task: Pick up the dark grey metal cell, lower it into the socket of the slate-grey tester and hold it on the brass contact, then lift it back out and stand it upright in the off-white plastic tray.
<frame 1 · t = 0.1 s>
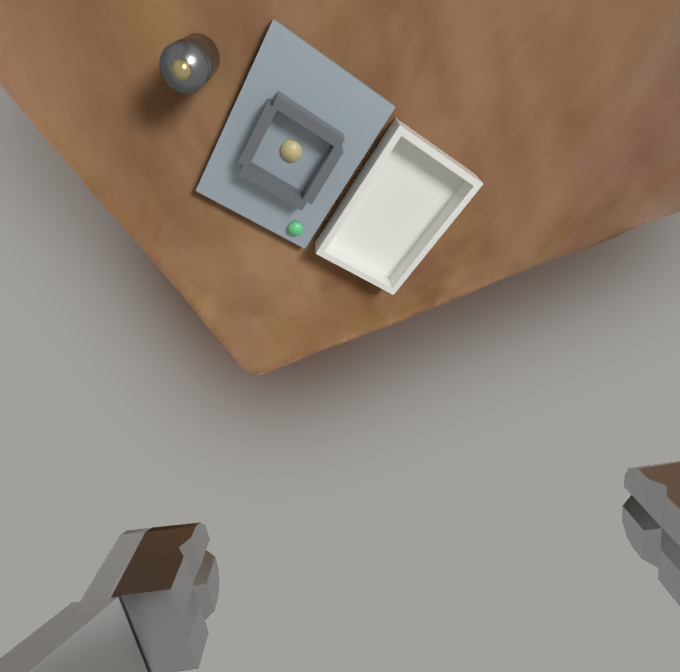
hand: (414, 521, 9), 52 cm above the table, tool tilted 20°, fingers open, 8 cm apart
cell: (199, 56, 48), on the table
tester cradle: (291, 146, 54), on the table
tray: (392, 208, 60), on the table
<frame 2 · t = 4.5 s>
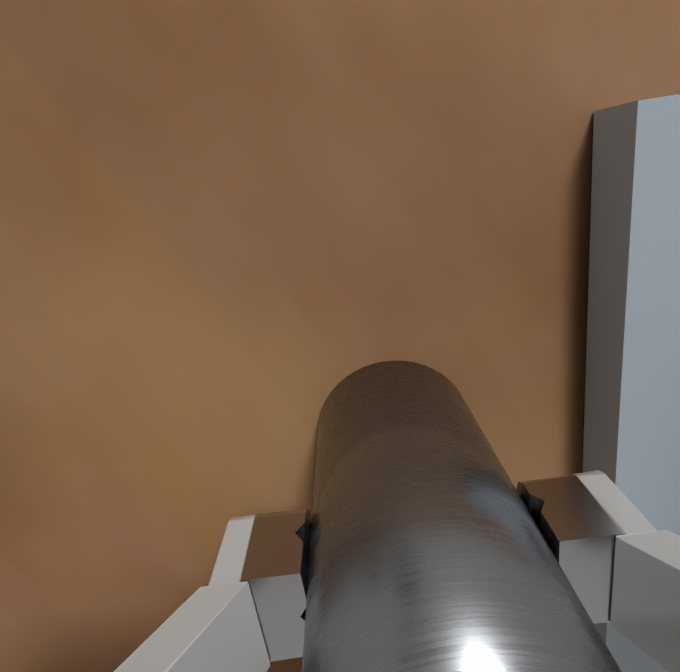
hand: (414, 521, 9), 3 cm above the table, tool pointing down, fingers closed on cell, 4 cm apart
cell: (393, 430, 12), on the table, touching gripper
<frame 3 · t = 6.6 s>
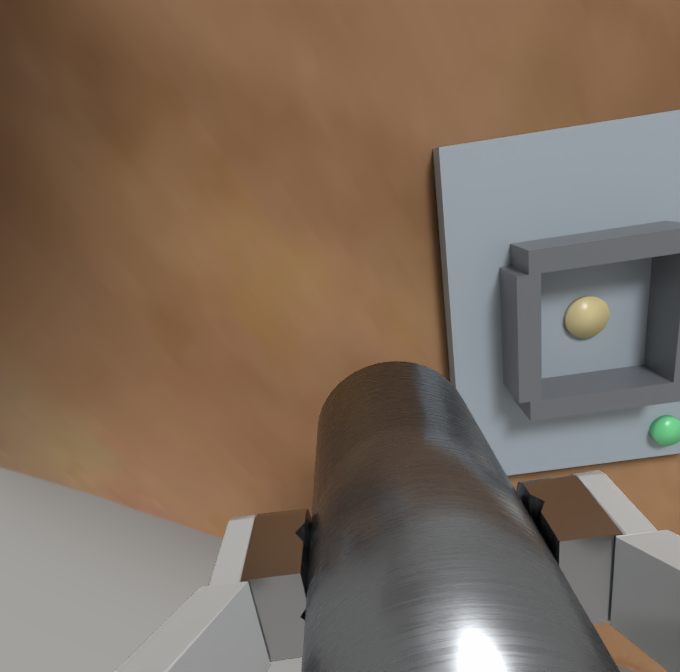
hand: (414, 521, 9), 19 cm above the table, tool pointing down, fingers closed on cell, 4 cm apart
cell: (393, 431, 12), point 16 cm above the table, touching gripper
tester cradle: (572, 309, 27), on the table
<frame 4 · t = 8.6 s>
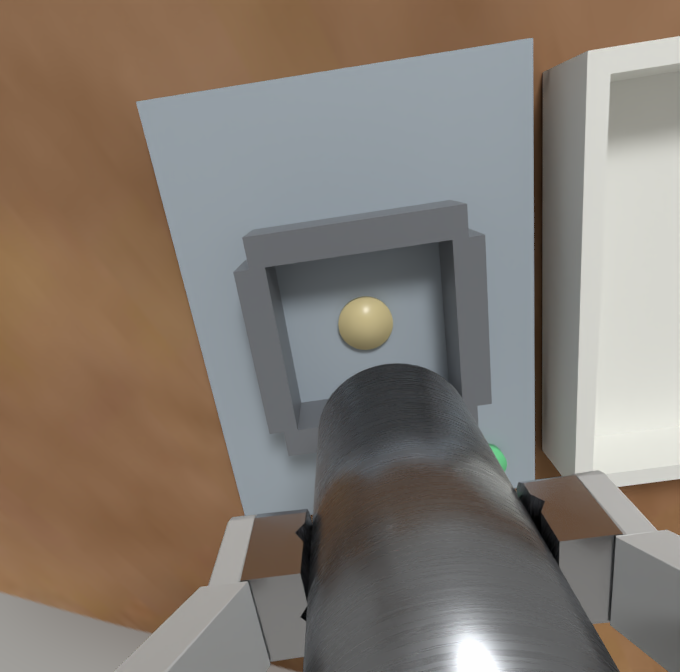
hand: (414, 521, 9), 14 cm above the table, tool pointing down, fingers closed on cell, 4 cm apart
cell: (393, 433, 12), point 10 cm above the table, touching gripper
tester cradle: (363, 312, 22), on the table
tray: (675, 267, 22), on the table
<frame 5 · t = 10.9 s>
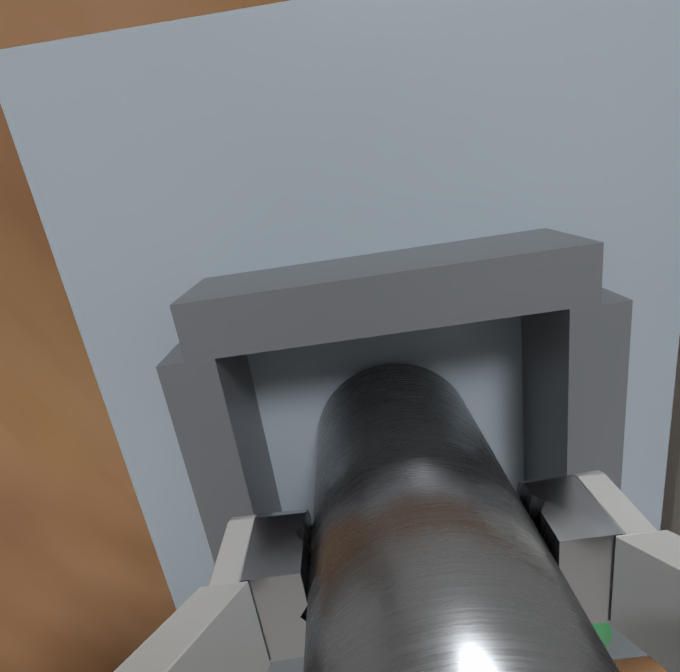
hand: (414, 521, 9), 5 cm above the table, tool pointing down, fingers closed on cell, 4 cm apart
cell: (393, 433, 12), point 2 cm above the table, touching gripper
tester cradle: (387, 400, 14), on the table
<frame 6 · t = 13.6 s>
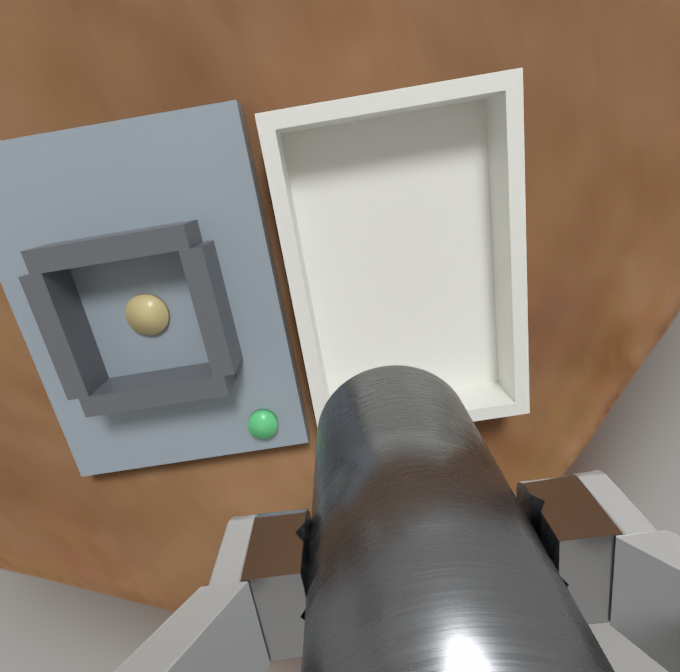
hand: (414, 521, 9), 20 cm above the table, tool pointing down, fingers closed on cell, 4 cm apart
cell: (392, 435, 12), point 17 cm above the table, touching gripper
tester cradle: (157, 306, 28), on the table
tray: (398, 267, 28), on the table
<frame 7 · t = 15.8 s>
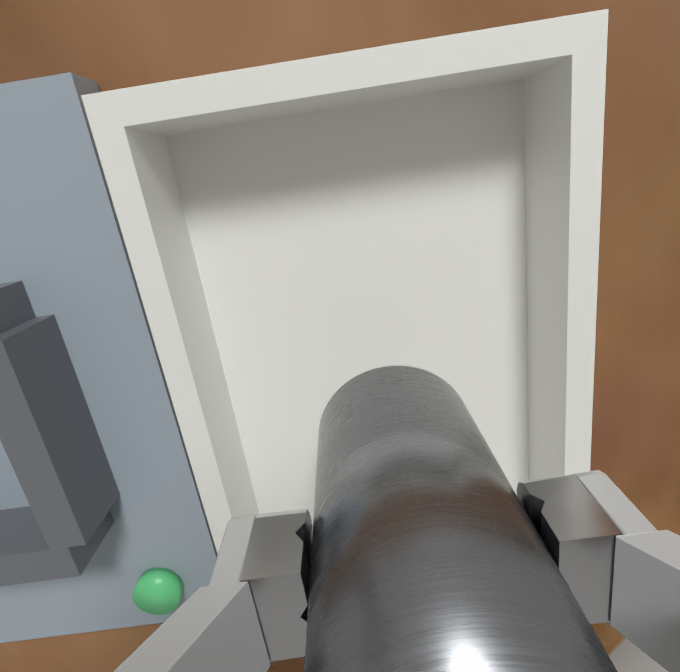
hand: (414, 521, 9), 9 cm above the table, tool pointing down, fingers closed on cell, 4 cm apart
cell: (394, 435, 12), point 5 cm above the table, touching gripper
tray: (373, 353, 17), on the table
when the fingers open (5 cm above the table, at t = 16.9 s): cell drops 1 cm, resting on tray.
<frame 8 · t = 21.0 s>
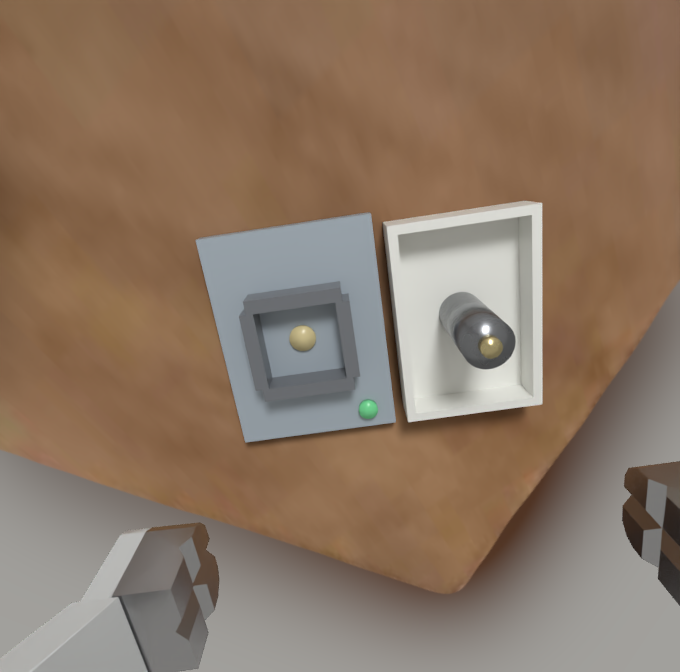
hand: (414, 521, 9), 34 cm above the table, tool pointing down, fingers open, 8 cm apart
cell: (460, 313, 43), point 1 cm above the table, touching tray
tester cradle: (303, 332, 44), on the table
tray: (459, 310, 43), on the table
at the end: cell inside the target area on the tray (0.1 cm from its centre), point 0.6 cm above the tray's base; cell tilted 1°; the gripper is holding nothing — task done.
